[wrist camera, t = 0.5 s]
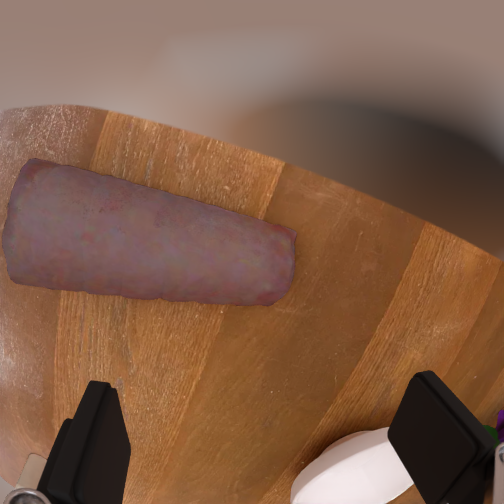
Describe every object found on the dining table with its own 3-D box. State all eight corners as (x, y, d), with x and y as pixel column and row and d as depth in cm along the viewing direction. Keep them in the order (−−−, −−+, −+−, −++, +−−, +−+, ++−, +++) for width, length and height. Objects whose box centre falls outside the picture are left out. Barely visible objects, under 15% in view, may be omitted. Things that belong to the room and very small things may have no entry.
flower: (433, 441, 47) (477, 453, 44) (441, 490, 33) (491, 498, 30) (473, 384, 44) (517, 400, 41) (496, 428, 30) (543, 440, 27)
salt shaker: (26, 449, 31) (9, 487, 23) (50, 459, 32) (35, 499, 24) (32, 465, 32) (17, 500, 24) (55, 474, 33) (43, 511, 25)
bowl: (394, 374, 33) (423, 411, 26) (419, 441, 39) (439, 470, 32) (254, 452, 34) (262, 496, 27) (314, 499, 40) (324, 532, 33)
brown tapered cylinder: (47, 262, 25) (-5, 300, 16) (51, 158, 23) (-9, 160, 14) (275, 293, 28) (300, 346, 20) (295, 186, 26) (334, 197, 17)
